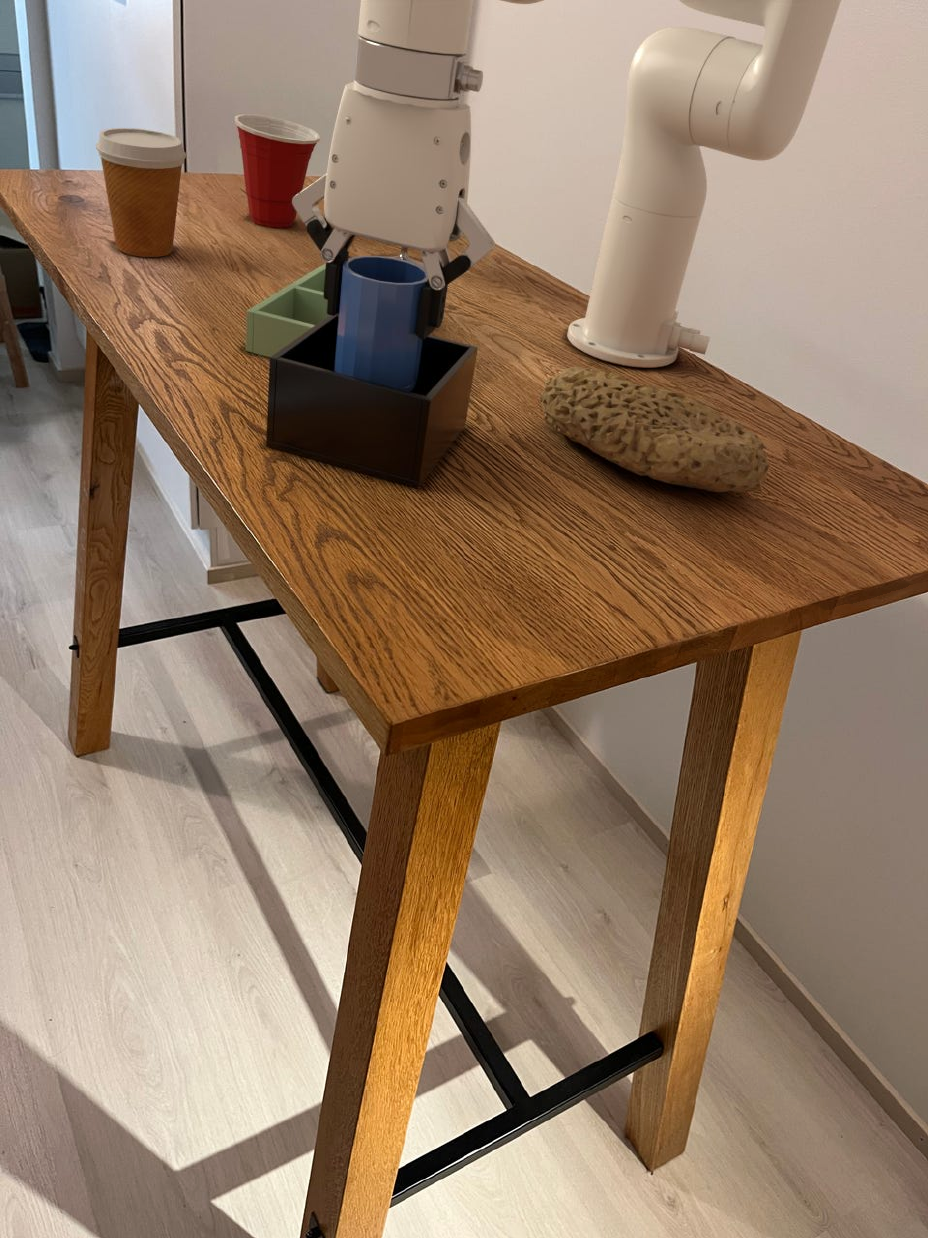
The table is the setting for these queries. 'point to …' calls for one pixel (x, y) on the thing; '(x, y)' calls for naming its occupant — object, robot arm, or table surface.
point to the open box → (368, 408)
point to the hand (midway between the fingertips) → (381, 320)
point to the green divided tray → (286, 314)
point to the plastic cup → (274, 166)
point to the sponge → (654, 431)
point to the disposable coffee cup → (142, 188)
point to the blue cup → (380, 321)
